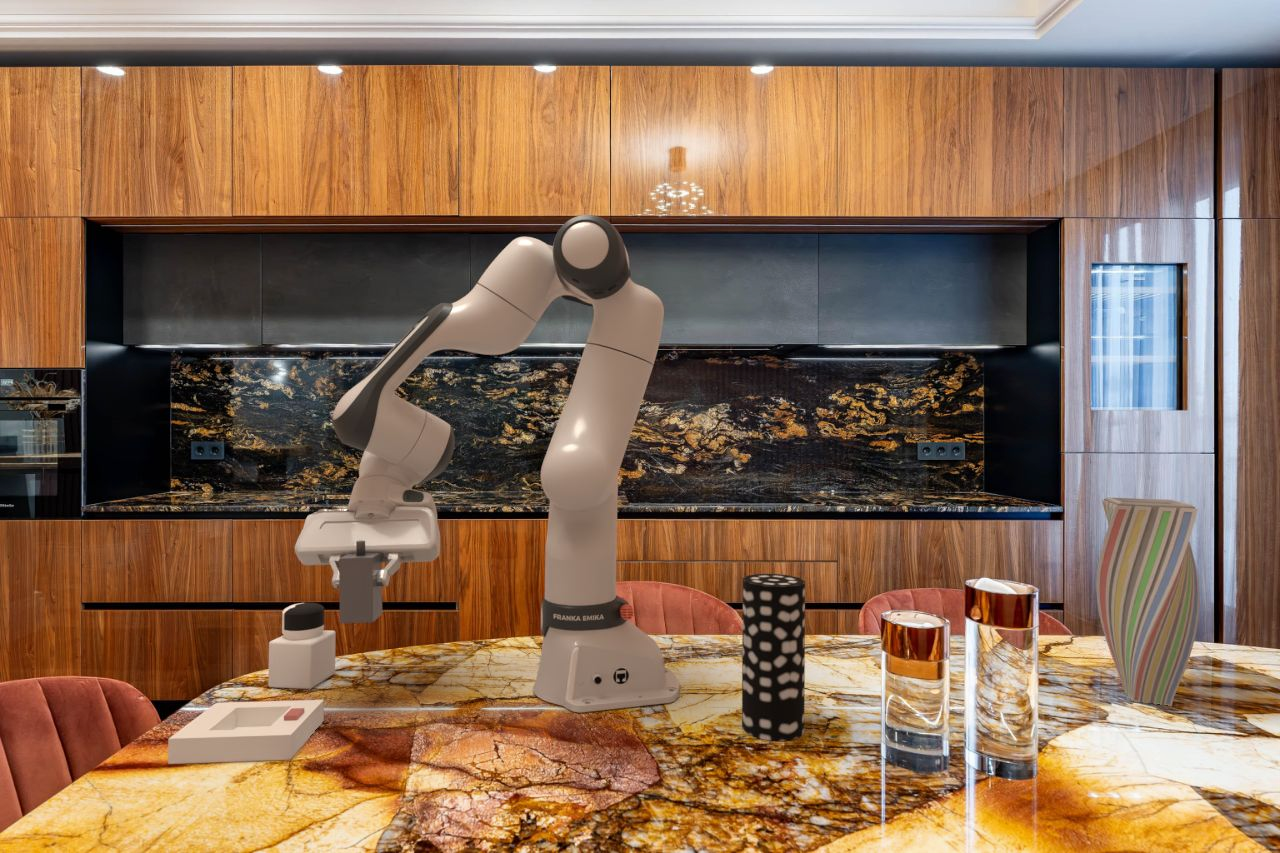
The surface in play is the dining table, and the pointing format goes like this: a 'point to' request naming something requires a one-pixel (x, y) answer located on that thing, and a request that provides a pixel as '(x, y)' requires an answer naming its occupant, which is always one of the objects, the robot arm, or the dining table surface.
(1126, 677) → the vase
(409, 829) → the dining table surface
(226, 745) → the socket
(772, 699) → the white-spotted black cylinder
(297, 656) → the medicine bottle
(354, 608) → the plug
